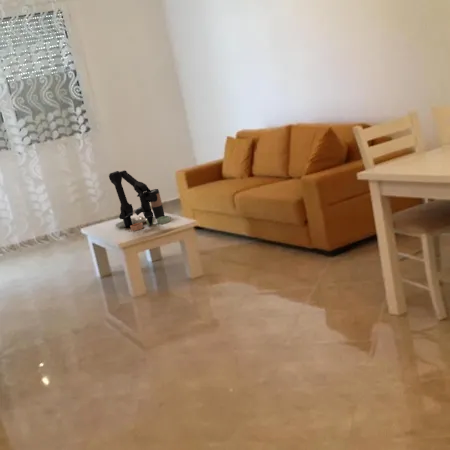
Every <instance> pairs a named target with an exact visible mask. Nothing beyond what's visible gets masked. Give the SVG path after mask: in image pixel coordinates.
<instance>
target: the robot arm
mask: <svg viewBox="0 0 450 450" xmlns="http://www.w3.org/2000/svg"><path fill="white" fill-rule="evenodd" d="M108 177H109V180H110V182H111V183H112V184H113V185H114V188H115V190H116V194H117V197H118V200H119V202H120V214H119V216H118V217H119V219H120V220H123V226H124V228H129V227H130V226H131V225H132V223H133V220H132V216H133V215H134V213H135V215H136V216H139V215H140V214H141V213H142V214H143V217H144V218H145V219H146V220H147V219H148V222H149V224H150V225H149V226H153V224H152V220H153V221H154V219H153V218H154V213H153V210H152V206H151V202H156V201H157V198H158V197H157V195H156V194H155V193H154V192H151V190H152V189H150V188H149V187H148V186H147V184H146V183H144V182H142V181H139V180H137V179H136V178H135V177H133V176H132V175H131V174H130V173H128V172H127V170H125V169H124V170H121V171H119V170H115V171H113V172H110V173H109V174H108ZM123 180H124V181H126V182H127V183H128V184H129V185H131V186H132V188H133V190H134V191H135V192H136V193H137V195H136V197H139V201H140V206H139V207H138V208H136V209H135V210H134V208H133V205H132V203H129V202H128V198H127V197H126V194H125V189H124V187H123V184H122V183H123V182H122V181H123Z"/></svg>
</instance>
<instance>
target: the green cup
mask: <svg viewBox="0 0 450 450" xmlns="http://www.w3.org/2000/svg"><path fill="white" fill-rule="evenodd" d="M156 222H157V224H158V225H161V224H162V225H163V224H167V223H169V222H171V219H170V215H165V216H163V217H160V218H158V219H156Z"/></svg>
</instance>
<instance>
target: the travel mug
mask: <svg viewBox="0 0 450 450" xmlns="http://www.w3.org/2000/svg"><path fill="white" fill-rule="evenodd" d="M150 190H151V192H154V193H155V194H156V195H157V197H158V198H157V201H156V202H150V207H151V210H152V212H153V217H154V219H156V220H157V219H158V218H160V217H163V216H166V215H165V212H164V206H163V202H162V198H161V194H160V190H159V188H155V189H154V188H153V189H150Z"/></svg>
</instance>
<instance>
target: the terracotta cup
mask: <svg viewBox="0 0 450 450" xmlns="http://www.w3.org/2000/svg"><path fill="white" fill-rule="evenodd" d="M129 227H130V230H131V232H132V231H138V230H142V229H143V228H145V227H144V222H136V223H135V222H134V223H133V224H132V225H131V226H129Z"/></svg>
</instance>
